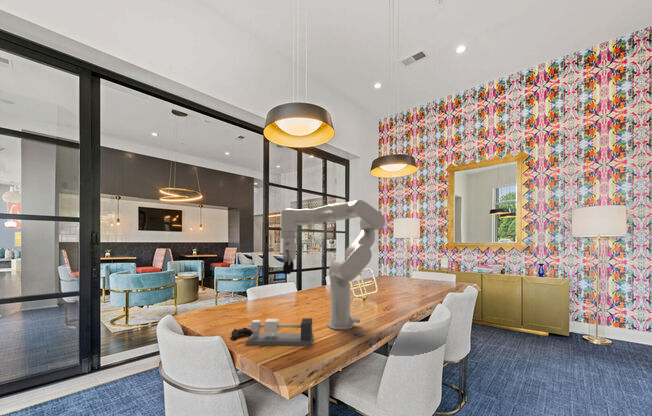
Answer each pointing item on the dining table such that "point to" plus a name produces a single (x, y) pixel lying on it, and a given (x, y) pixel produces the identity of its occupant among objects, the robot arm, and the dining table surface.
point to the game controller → (241, 332)
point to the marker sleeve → (271, 325)
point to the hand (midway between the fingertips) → (288, 272)
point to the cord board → (282, 334)
